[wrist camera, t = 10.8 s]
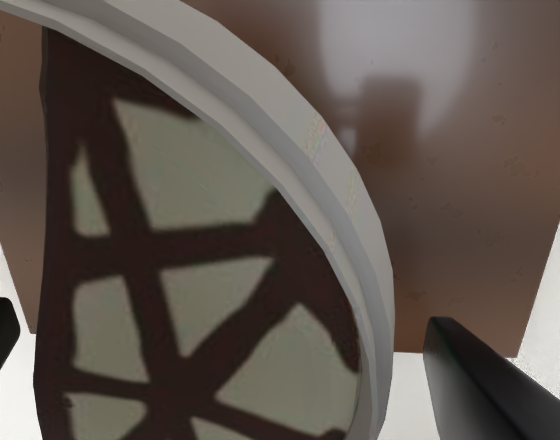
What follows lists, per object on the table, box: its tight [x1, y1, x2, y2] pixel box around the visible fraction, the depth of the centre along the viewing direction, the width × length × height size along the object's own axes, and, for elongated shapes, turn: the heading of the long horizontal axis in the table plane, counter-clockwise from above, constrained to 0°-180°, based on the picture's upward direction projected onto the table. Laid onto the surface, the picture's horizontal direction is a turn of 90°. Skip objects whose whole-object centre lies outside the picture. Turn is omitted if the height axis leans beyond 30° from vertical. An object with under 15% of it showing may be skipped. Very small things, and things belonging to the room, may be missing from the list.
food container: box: [0, 0, 395, 440], centre depth 11 cm, size 12×6×10 cm, turn 166°
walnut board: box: [0, 0, 560, 358], centre depth 15 cm, size 14×22×1 cm, turn 90°
